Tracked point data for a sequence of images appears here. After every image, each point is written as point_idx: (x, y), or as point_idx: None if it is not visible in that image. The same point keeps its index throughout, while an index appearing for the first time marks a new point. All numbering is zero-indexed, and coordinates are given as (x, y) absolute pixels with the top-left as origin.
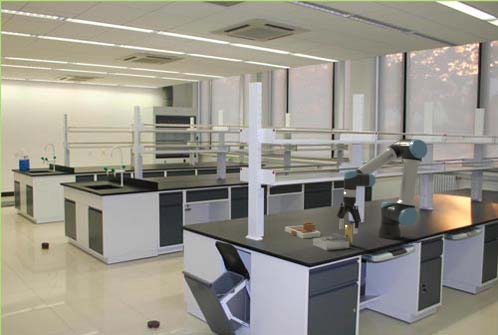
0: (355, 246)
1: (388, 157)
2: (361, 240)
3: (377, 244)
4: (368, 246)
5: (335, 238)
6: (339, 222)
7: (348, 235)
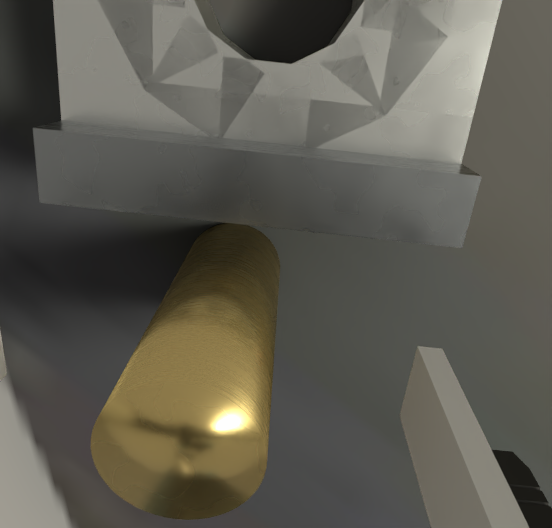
0: (138, 288)
1: None
2: (327, 509)
3: (126, 516)
4: (87, 402)
5: (312, 116)
6: (518, 468)
7: (168, 295)
